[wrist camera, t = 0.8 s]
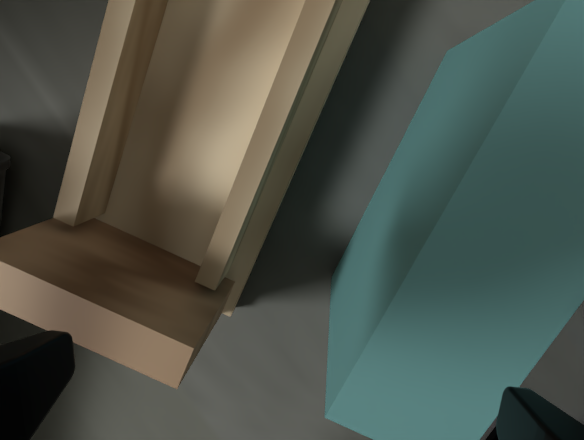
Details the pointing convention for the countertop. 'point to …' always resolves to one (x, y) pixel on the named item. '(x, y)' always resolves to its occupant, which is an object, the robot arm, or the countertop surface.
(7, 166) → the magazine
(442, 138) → the teal book
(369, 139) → the countertop surface
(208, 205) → the book rack
